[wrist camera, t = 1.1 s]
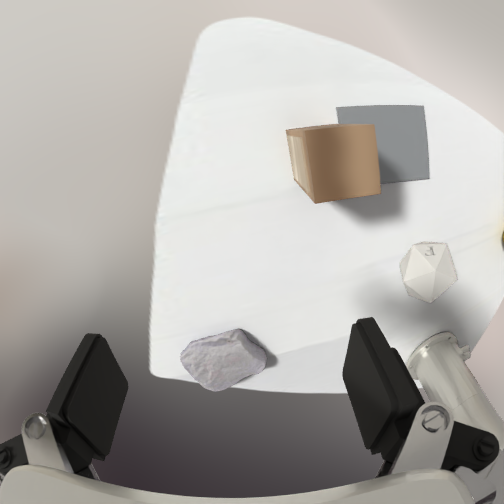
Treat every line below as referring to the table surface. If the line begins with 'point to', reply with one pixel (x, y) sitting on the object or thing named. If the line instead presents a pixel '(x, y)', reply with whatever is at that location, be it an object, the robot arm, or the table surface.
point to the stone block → (223, 359)
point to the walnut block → (335, 161)
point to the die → (427, 270)
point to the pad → (395, 138)
